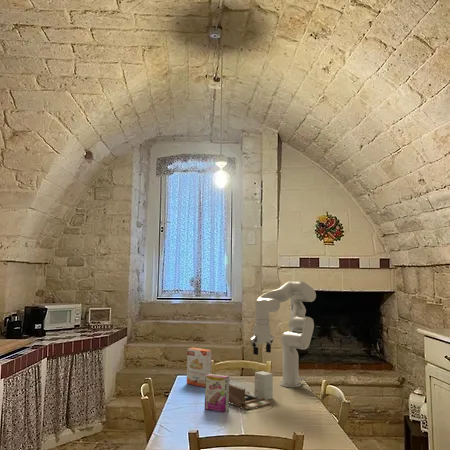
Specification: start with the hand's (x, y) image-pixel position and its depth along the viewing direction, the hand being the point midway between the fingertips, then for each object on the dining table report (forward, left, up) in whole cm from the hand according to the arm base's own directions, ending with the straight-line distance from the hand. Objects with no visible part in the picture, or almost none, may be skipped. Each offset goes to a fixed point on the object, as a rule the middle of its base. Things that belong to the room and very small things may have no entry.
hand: (262, 353), depth 240 cm
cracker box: (+16, -38, -23) cm, 47 cm away
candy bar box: (+35, +5, -23) cm, 42 cm away
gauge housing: (+15, +5, -23) cm, 28 cm away
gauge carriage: (+14, +6, -22) cm, 27 cm away
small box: (+1, +3, -23) cm, 23 cm away
